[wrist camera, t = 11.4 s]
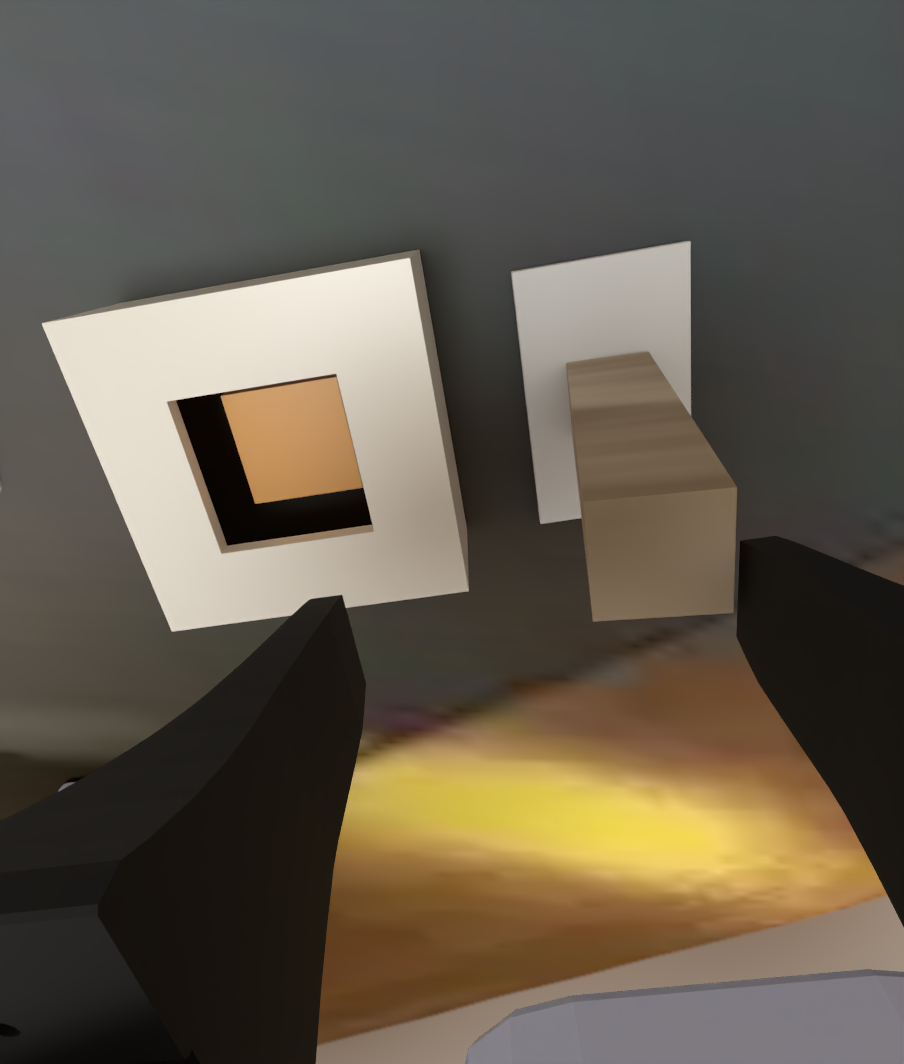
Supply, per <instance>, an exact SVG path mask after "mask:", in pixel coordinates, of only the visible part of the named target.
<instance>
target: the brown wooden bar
mask: <svg viewBox="0 0 904 1064" xmlns="http://www.w3.org/2000/svg"><path fill="white" fill-rule="evenodd" d="M566 367H567V379H568V391H569V402H570V414H571V426H572V437H573V447H574V455H575V464H576V473H577V482H578V491H579V500H580V509H581V518H582V527H583V536H584V545H585V554H586V563H587V572H588V581H589V590H590V599H591V608H592V617H593V621H610V620H626V619H642V618H659V617H675V616H692V615H708V614H724V613H733V603H734V572H735V541H736V510H737V486H736V485H735V483H734V481H733V480H732V478H731V477H730V475H729V474H728V472H727V471H726V469H725V468H724V466H723V465H722V463H721V462H720V460H719V459H718V457H717V455H716V454H715V452H714V451H713V449H712V448H711V446H710V445H709V443H708V442H707V440H706V439H705V437H704V436H703V434H702V432H701V431H700V429H699V428H698V426H697V425H696V423H695V422H694V420H693V419H692V417H691V416H690V414H689V413H688V411H687V409H686V408H685V406H684V405H683V403H682V402H681V400H680V399H679V397H678V396H677V394H676V393H675V391H674V390H673V388H672V387H671V385H670V383H669V382H668V380H667V379H666V377H665V376H664V374H663V373H662V371H661V370H660V368H659V367H658V365H657V364H656V362H655V360H654V359H653V357H652V356H651V354H650V353H649V352H642V353H635V354H628V355H620V356H613V357H605V358H598V359H590V360H583V361H576V362H568V363H566Z"/></svg>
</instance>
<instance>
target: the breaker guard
mask: <svg viewBox="0 0 904 1064" xmlns="http://www.w3.org/2000/svg"><path fill="white" fill-rule="evenodd" d="M42 326H43V328H44V330H45V333H46V335H47V337H48V340H49V342H50V345H51V347H52V349H53V352H54V354H55V356H56V359H57V361H58V363H59V366H60V368H61V371H62V373H63V375H64V378H65V380H66V382H67V385H68V387H69V389H70V392H71V394H72V397H73V399H74V401H75V404H76V406H77V408H78V411H79V413H80V415H81V418H82V420H83V423H84V425H85V427H86V430H87V432H88V434H89V437H90V439H91V441H92V444H93V446H94V449H95V451H96V453H97V456H98V458H99V460H100V463H101V465H102V467H103V470H104V472H105V475H106V477H107V479H108V482H109V484H110V486H111V489H112V491H113V493H114V496H115V498H116V501H117V503H118V505H119V508H120V510H121V512H122V515H123V517H124V520H125V522H126V524H127V527H128V529H129V531H130V534H131V536H132V538H133V541H134V543H135V546H136V548H137V550H138V553H139V555H140V557H141V560H142V562H143V564H144V567H145V569H146V572H147V574H148V576H149V579H150V581H151V583H152V586H153V588H154V590H155V593H156V595H157V598H158V600H159V602H160V605H161V607H162V609H163V612H164V614H165V616H166V619H167V621H168V624H169V626H170V628H171V631H172V632H173V631H180V630H187V629H195V628H202V627H209V626H217V625H224V624H231V623H239V622H246V621H253V620H261V619H268V618H275V617H283V616H290V615H293V614H294V613H295V612H296V611H297V610H298V609H299V608H300V607H301V606H302V605H304V604H305V603H306V602H307V601H308V600H310V599H314V598H321V597H329V596H336V595H342V596H343V600H344V603H345V607H346V608H349V607H356V606H363V605H371V604H378V603H385V602H393V601H400V600H407V599H415V598H422V597H429V596H437V595H444V594H451V593H459V592H466V591H469V576H468V543H467V526H466V520H465V514H464V508H463V502H462V497H461V491H460V485H459V479H458V473H457V467H456V461H455V455H454V450H453V444H452V438H451V432H450V426H449V420H448V414H447V409H446V403H445V397H444V391H443V385H442V379H441V373H440V367H439V362H438V356H437V350H436V344H435V338H434V332H433V326H432V321H431V315H430V309H429V303H428V297H427V291H426V285H425V280H424V274H423V268H422V262H421V256H420V250H413V251H408V252H402V253H396V254H391V255H385V256H380V257H374V258H368V259H363V260H357V261H352V262H346V263H340V264H335V265H329V266H324V267H318V268H312V269H307V270H301V271H296V272H290V273H285V274H279V275H273V276H268V277H262V278H257V279H251V280H245V281H240V282H234V283H229V284H223V285H217V286H212V287H206V288H201V289H195V290H189V291H184V292H178V293H173V294H167V295H161V296H156V297H150V298H145V299H139V300H134V301H128V302H122V303H118V304H114V305H110V306H107V307H103V308H99V309H95V310H91V311H87V312H84V313H80V314H76V315H72V316H68V317H64V318H60V319H57V320H53V321H49V322H45V323H42ZM331 374H336V375H337V379H338V383H339V388H340V392H341V396H342V400H343V404H344V408H345V413H346V417H347V421H348V425H349V429H350V433H351V438H352V442H353V446H354V450H355V454H356V458H357V463H358V467H359V471H360V475H361V479H362V483H363V488H364V492H365V496H366V500H367V504H368V508H369V512H370V517H371V521H372V525H366V526H359V527H352V528H345V529H338V530H332V531H325V532H318V533H311V534H304V535H297V536H291V537H284V538H277V539H270V540H263V541H256V542H249V543H243V544H236V545H229V546H227V543H226V540H225V537H224V535H223V532H222V529H221V526H220V523H219V520H218V518H217V515H216V512H215V509H214V506H213V503H212V501H211V498H210V495H209V492H208V489H207V486H206V484H205V481H204V478H203V475H202V472H201V469H200V467H199V464H198V461H197V458H196V455H195V453H194V450H193V447H192V444H191V441H190V438H189V436H188V433H187V430H186V427H185V424H184V421H183V419H182V416H181V413H180V410H179V407H178V404H177V402H176V400H180V399H186V398H192V397H198V396H204V395H210V394H216V393H222V392H228V391H234V390H240V389H246V388H252V387H258V386H264V385H271V384H277V383H283V382H289V381H295V380H301V379H307V378H313V377H319V376H325V375H331Z"/></svg>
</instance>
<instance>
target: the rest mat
mask: <svg viewBox="0 0 904 1064" xmlns="http://www.w3.org/2000/svg"><path fill="white" fill-rule="evenodd" d="M511 279H512V288H513V297H514V305H515V314H516V322H517V331H518V340H519V348H520V357H521V366H522V374H523V383H524V392H525V400H526V409H527V417H528V426H529V435H530V443H531V452H532V461H533V469H534V478H535V487H536V495H537V504H538V512H539V520H540V524H544V523H551V522H558V521H565V520H572V519H579V518H581V509H580V500H579V491H578V482H577V473H576V464H575V455H574V447H573V437H572V426H571V414H570V402H569V391H568V379H567V367H566V363H568V362H576V361H583V360H590V359H598V358H605V357H613V356H620V355H628V354H635V353H642V352H649V353H650V354H651V356H652V357H653V359H654V360H655V362H656V364H657V365H658V367H659V368H660V370H661V371H662V373H663V374H664V376H665V377H666V379H667V380H668V382H669V383H670V385H671V387H672V388H673V390H674V391H675V393H676V394H677V396H678V397H679V399H680V400H681V402H682V403H683V405H684V406H685V408H686V409H687V411H688V413H689V414H690V416H691V266H690V241H682V242H676V243H670V244H665V245H659V246H653V247H648V248H642V249H636V250H630V251H625V252H619V253H613V254H607V255H602V256H596V257H590V258H584V259H579V260H573V261H567V262H561V263H556V264H550V265H544V266H538V267H533V268H527V269H521V270H515V271H511Z"/></svg>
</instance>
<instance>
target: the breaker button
mask: <svg viewBox="0 0 904 1064" xmlns="http://www.w3.org/2000/svg"><path fill="white" fill-rule="evenodd" d="M221 399H222V403H223V406H224V409H225V412H226V415H227V418H228V421H229V424H230V427H231V430H232V434H233V437H234V440H235V443H236V446H237V449H238V452H239V455H240V458H241V461H242V465H243V468H244V471H245V474H246V477H247V480H248V483H249V486H250V489H251V492H252V496H253V499H254V502H255V504H258V503H265V502H272V501H278V500H285V499H292V498H298V497H305V496H311V495H318V494H325V493H331V492H338V491H345V490H351V489H358V488H363V483H362V479H361V475H360V471H359V467H358V463H357V458H356V454H355V450H354V446H353V442H352V438H351V433H350V429H349V425H348V421H347V417H346V413H345V408H344V404H343V400H342V396H341V392H340V388H339V383H338V379H337V375H336V374H331V375H325V376H319V377H313V378H307V379H301V380H295V381H289V382H283V383H277V384H271V385H264V386H258V387H252V388H246V389H240V390H234V391H228V392H225V393H224V394H223V395H221Z"/></svg>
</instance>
